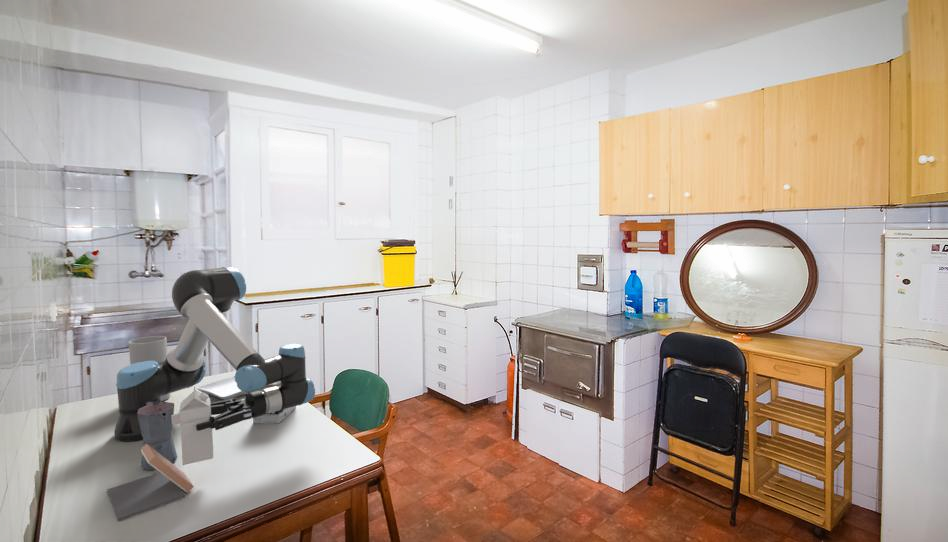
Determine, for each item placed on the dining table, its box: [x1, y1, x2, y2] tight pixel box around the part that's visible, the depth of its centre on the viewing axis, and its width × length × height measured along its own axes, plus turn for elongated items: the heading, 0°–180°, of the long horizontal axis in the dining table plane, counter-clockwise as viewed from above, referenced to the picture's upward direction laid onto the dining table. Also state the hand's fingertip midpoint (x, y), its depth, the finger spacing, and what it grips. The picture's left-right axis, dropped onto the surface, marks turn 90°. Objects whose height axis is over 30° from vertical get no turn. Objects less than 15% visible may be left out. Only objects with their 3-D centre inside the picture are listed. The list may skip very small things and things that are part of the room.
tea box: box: [252, 381, 297, 424], centre depth 173 cm, size 15×10×15 cm
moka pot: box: [137, 399, 178, 471], centre depth 138 cm, size 10×15×20 cm, turn 58°
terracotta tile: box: [140, 444, 194, 493], centre depth 124 cm, size 10×2×14 cm
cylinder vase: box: [128, 335, 172, 402], centre depth 188 cm, size 12×12×25 cm
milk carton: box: [178, 386, 214, 465], centre depth 128 cm, size 7×7×19 cm
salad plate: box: [196, 375, 250, 401], centre depth 199 cm, size 21×21×3 cm
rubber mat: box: [106, 471, 186, 522], centre depth 123 cm, size 18×14×1 cm
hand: (176, 425), depth 124 cm, fingers closed on milk carton, 9 cm apart
